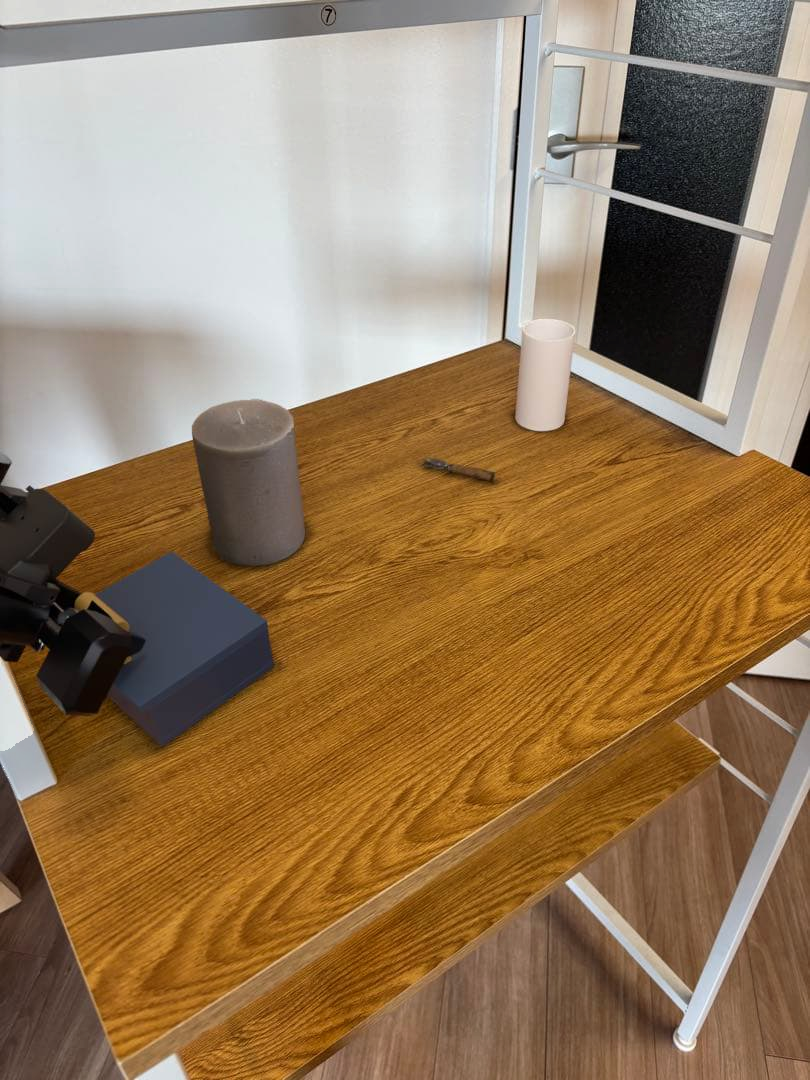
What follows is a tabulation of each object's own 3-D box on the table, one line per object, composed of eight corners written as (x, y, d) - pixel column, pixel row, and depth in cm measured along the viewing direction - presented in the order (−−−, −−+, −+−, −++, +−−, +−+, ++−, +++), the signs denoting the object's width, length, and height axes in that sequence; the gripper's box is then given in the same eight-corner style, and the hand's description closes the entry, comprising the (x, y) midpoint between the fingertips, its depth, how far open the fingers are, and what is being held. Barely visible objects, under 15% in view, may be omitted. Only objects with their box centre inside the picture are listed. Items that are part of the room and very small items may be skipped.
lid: (140, 713, 62) (125, 666, 59) (49, 628, 69) (30, 581, 66) (268, 627, 69) (260, 580, 66) (172, 557, 77) (161, 512, 73)
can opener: (495, 478, 94) (496, 470, 93) (486, 489, 93) (487, 480, 92) (425, 458, 98) (425, 450, 97) (415, 468, 96) (415, 459, 95)
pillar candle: (204, 567, 83) (176, 438, 74) (222, 509, 90) (200, 386, 81) (301, 567, 83) (285, 438, 73) (311, 509, 90) (299, 385, 81)
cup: (505, 420, 105) (512, 331, 97) (532, 401, 108) (540, 314, 101) (547, 436, 101) (557, 345, 94) (573, 416, 105) (585, 327, 98)
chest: (162, 747, 66) (150, 708, 63) (72, 662, 73) (58, 623, 70) (274, 666, 72) (268, 627, 69) (182, 596, 80) (173, 558, 77)
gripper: (66, 547, 48) (243, 594, 61) (-68, 434, 58) (108, 495, 71) (-21, 714, 48) (173, 725, 62) (-140, 573, 59) (49, 608, 72)
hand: (124, 628), depth 67 cm, fingers closed on lid, 5 cm apart
